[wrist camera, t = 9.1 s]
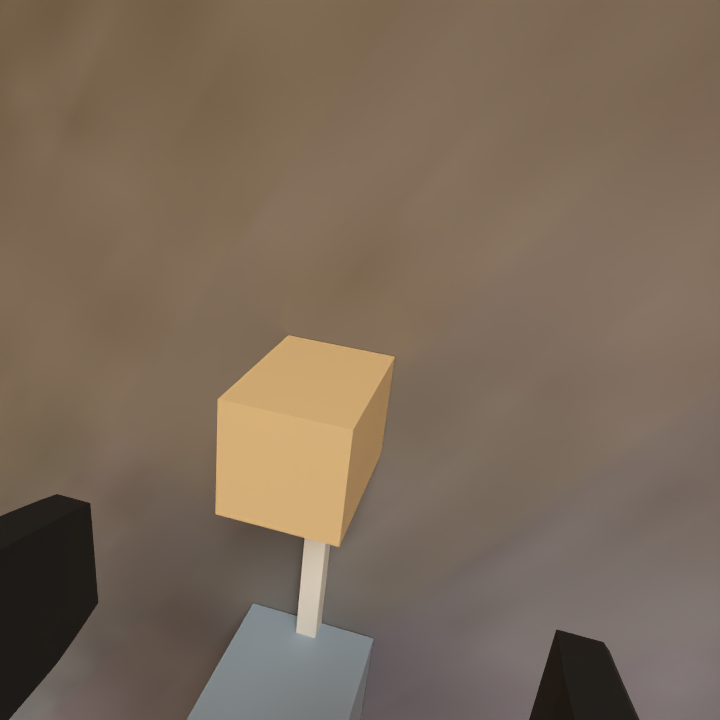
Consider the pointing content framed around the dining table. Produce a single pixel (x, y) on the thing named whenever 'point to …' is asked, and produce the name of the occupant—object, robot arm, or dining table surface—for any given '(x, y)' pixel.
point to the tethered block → (297, 522)
